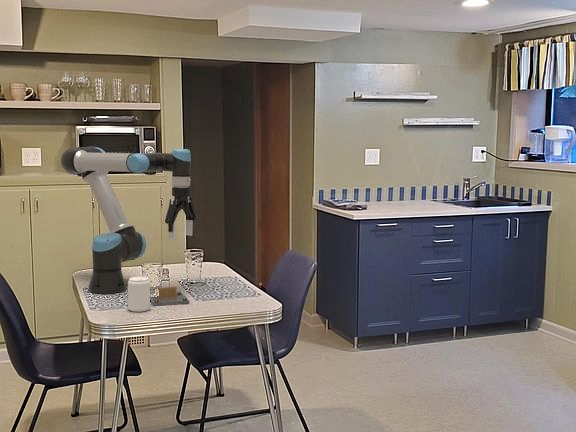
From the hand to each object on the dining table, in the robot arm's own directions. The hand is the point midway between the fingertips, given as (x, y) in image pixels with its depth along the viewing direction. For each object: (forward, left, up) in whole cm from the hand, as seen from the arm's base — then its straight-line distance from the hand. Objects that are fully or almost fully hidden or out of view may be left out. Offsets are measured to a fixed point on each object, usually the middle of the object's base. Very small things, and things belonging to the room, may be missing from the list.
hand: (180, 237), depth 292 cm
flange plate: (-8, -14, -23) cm, 28 cm away
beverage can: (-21, -25, -23) cm, 40 cm away
